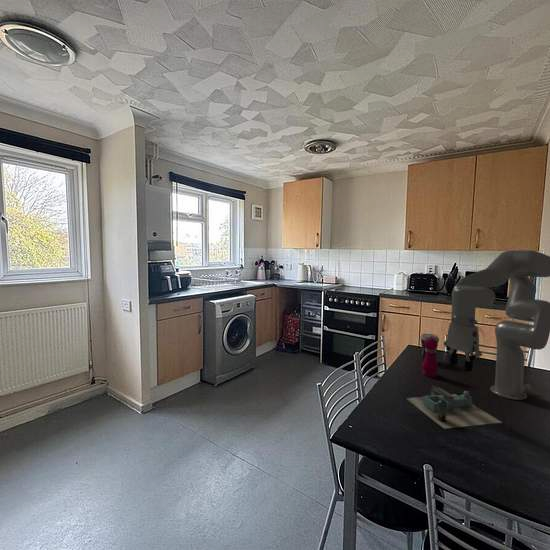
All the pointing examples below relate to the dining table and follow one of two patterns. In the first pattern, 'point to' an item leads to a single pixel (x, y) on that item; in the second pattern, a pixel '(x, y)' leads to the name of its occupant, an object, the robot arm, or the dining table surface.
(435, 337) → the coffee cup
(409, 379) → the dining table surface
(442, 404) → the pin
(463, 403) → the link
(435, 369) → the pepper mill
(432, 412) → the board
